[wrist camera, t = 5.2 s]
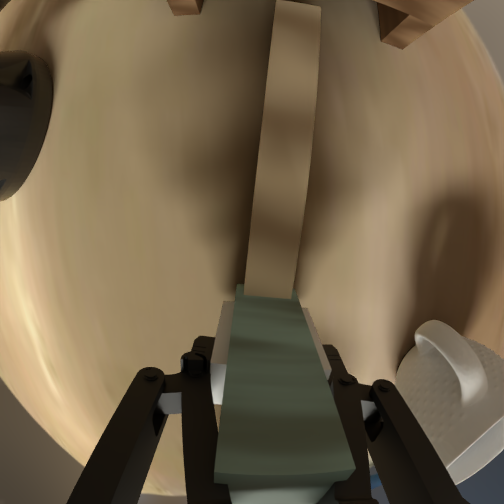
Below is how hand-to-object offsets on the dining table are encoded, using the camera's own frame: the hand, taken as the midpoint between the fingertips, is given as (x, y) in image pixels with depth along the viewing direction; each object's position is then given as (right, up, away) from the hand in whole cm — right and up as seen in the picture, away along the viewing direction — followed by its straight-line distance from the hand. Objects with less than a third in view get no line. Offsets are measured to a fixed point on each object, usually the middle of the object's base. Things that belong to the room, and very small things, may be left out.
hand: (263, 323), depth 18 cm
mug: (+16, -5, +4) cm, 17 cm away
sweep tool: (+1, +10, -1) cm, 10 cm away
